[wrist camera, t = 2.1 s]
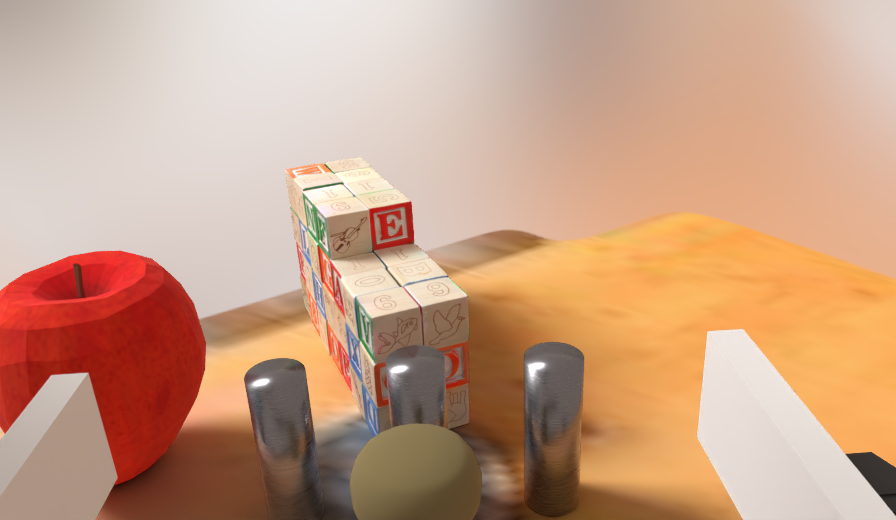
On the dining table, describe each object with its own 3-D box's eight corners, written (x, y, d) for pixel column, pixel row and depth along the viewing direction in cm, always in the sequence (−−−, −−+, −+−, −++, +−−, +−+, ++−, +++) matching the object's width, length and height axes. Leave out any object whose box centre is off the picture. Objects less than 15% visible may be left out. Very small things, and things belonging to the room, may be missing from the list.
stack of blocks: (473, 425, 49) (468, 248, 44) (380, 452, 47) (362, 270, 42) (373, 290, 67) (360, 153, 62) (302, 305, 65) (283, 165, 60)
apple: (194, 534, 41) (143, 313, 35) (-25, 544, 41) (-111, 325, 36) (244, 404, 52) (210, 219, 46) (70, 412, 52) (16, 228, 46)
